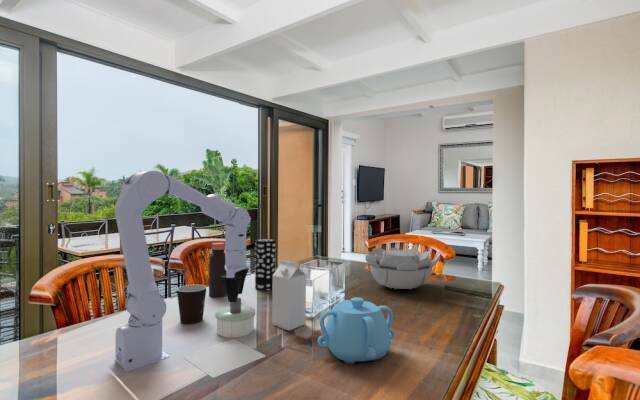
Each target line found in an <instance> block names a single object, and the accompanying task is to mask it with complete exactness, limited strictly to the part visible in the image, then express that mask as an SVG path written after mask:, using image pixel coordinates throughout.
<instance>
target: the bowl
mask: <svg viewBox="0 0 640 400" xmlns="http://www.w3.org/2000/svg"><path fill="white" fill-rule="evenodd" d="M254 329H255V315H254V316H253V317H252V318H250V319H247V320H243V321H235V322H227V321H221V320H218V319H216V334H218V335H219V336H221V337H224V338H239V337H244V336H247V335H249V334H251V333H252V332H254Z"/></svg>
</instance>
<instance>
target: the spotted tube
mask: <svg viewBox="0 0 640 400" xmlns="http://www.w3.org/2000/svg"><path fill="white" fill-rule="evenodd" d="M276 241H277V240H276V239H274V238H273V239H271V238H260V239H259V238H258V239H255V251H254V253H255V255H254V256H255V258H254V259H255V261H254V263H255V266H254V267H255V269H254V272H255V273H254V282H255V283H254V289H255V290H257V291H259V290H260V291H261V292H265V291H266V290H269V291H272V284H273V274H274V272H275V271H276V266H277V263H276V260H277V259H276V258H277V257H276V255H277V254H276V253H277V251H276V246H277V244H276V243H277V242H276ZM266 292H267V291H266Z"/></svg>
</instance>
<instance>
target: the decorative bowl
mask: <svg viewBox="0 0 640 400" xmlns="http://www.w3.org/2000/svg"><path fill="white" fill-rule="evenodd" d="M440 259H441V255H440V254H439V255H438V256H436V257H435V258H434V259H432V260H431V252H430V250H425V251H424V252H423V253H421V252H420V251H419V249H417V248H414V247H413V248H410V249H409V248H407V249H399V248H396V247H391V248H390V249H389V250H386V249H383V248H379V249H378V248H376V247H373V248H372V249H371V251H370V250H368V251H367V254H365V261H366V262H367V264H368V265H369V267H370V272H371V274H372V275H371V276H373V278H374V280H375V281H376V282H377V283H378V284H379V285H381V286H384V287H387V288H389V289H392V288H394V289H393V290H397V289H409V290H413V288H414V289H416V288H418V287H421V285H422V286H423V285H425V284H426V283H427V281H428V280H429V278H430V276H431V275H432V272H433V271H432V270H433V267H435V265H437V264H438V262H439V260H440Z"/></svg>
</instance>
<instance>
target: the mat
mask: <svg viewBox="0 0 640 400" xmlns="http://www.w3.org/2000/svg"><path fill="white" fill-rule="evenodd" d="M265 357H267V355H265V354H263V353H262V352H259V351H258V350H256V349H254V348H251V346H248V345H246V344H244V343H241V342H240V341H238V340H236V339H234V338H233V339H230V340H227V341H224V342H221V343H218V344H214V345H212V346H209V347H206V348H203V349H201V350H198V351H197V350H196V351H193V352H192V353H188V354H185V355H183V356H182V358H183V359H184V360H185V361H188V362H189V363H190V364H192V365H193V366H194V367H196V368H198V369H199V370H201V371H202V372H204V374H206V375H208V377H211V378H212V379H215V378H218V377H219V376H222V375H224V374H227V373H230V372H232V371H234V370H237V369H239V368H242V367H244V366H246V365H248V364H252V363H254V362H256V361H258V360H261V359H263V358H265Z"/></svg>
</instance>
